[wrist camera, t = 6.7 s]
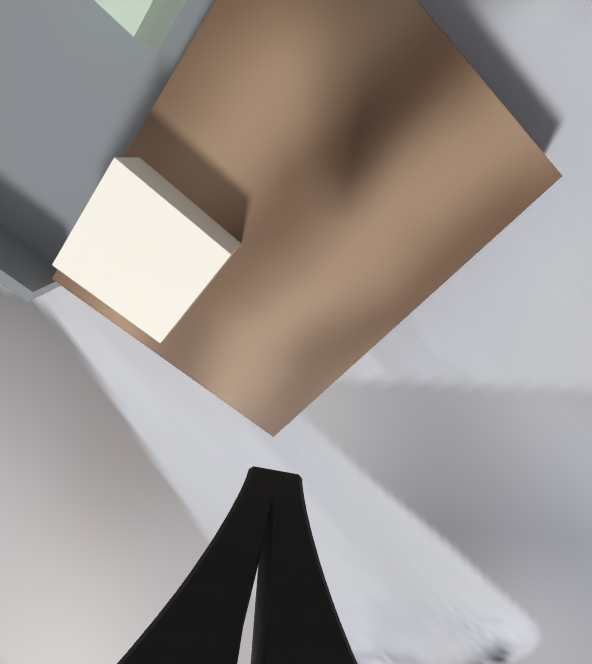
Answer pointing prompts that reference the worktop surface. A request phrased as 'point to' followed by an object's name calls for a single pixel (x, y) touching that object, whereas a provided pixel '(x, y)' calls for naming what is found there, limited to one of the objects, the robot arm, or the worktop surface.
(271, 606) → the robot arm
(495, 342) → the worktop surface
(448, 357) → the worktop surface
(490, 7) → the worktop surface
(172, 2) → the sage tile
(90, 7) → the box
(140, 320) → the cream tile
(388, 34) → the walnut plate
